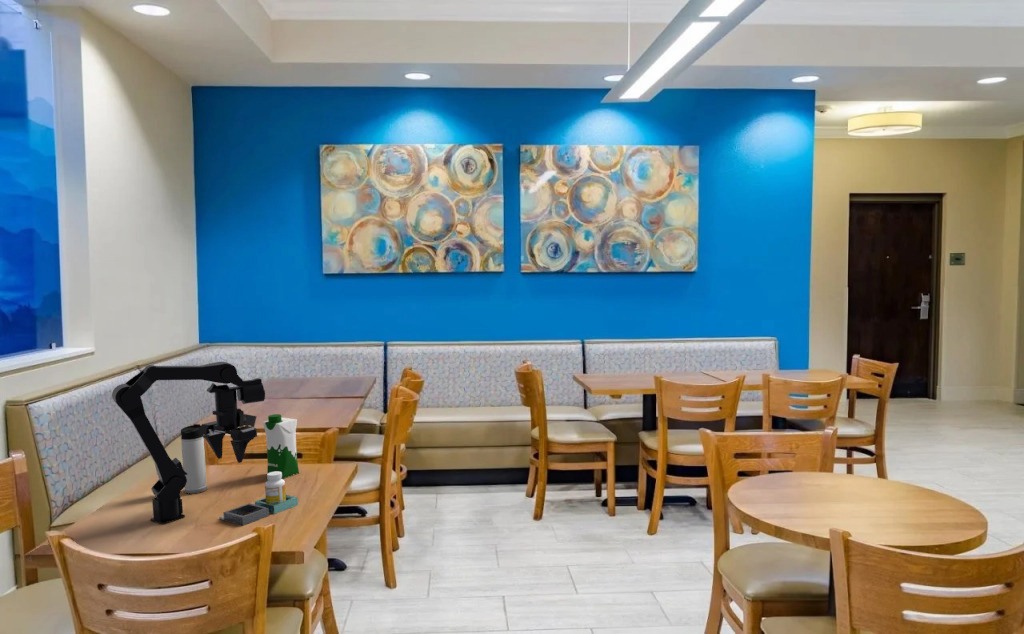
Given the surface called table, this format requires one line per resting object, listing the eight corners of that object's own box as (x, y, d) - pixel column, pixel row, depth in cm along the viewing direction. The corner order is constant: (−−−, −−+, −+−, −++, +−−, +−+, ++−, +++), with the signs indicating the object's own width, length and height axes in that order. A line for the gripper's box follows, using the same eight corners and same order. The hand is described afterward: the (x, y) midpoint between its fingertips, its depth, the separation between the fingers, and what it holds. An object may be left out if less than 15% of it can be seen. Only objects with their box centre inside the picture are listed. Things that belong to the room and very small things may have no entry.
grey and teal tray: (243, 525, 191) (242, 517, 190) (219, 519, 196) (218, 511, 196) (298, 504, 206) (297, 497, 206) (274, 499, 211) (274, 491, 211)
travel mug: (211, 487, 225) (207, 423, 224) (200, 494, 219) (195, 428, 217) (192, 487, 226) (188, 424, 224) (180, 494, 219) (176, 429, 218)
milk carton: (263, 476, 235) (259, 415, 233) (285, 469, 242) (282, 410, 241) (281, 480, 230) (278, 418, 228) (303, 472, 238) (300, 412, 236)
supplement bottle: (279, 502, 208) (277, 469, 208) (290, 506, 205) (288, 472, 204) (262, 507, 204) (260, 474, 204) (273, 511, 201) (271, 477, 200)
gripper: (271, 403, 207) (274, 457, 208) (230, 398, 217) (233, 449, 218) (237, 411, 198) (241, 467, 199) (196, 405, 208) (200, 459, 209)
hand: (229, 460), depth 207 cm, fingers open, 9 cm apart
